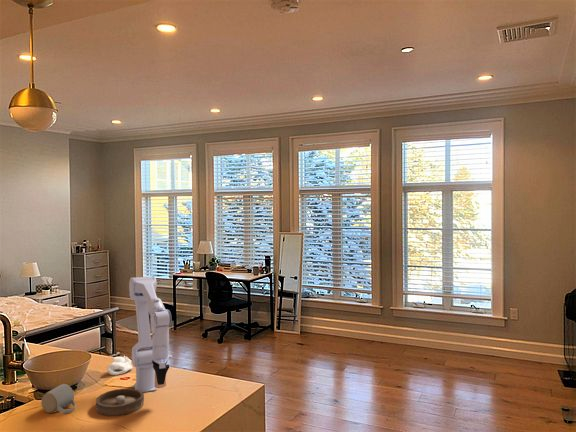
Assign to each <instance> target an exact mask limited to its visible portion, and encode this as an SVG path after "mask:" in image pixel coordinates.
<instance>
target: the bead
mask: <svg viewBox="0 0 576 432" xmlns="http://www.w3.org/2000/svg"><path fill="white" fill-rule="evenodd" d="M165 387H167V376H166V377H165V382H164V384H162V385H158V383H157V377H156V372H155V388H157V389H162V388H165Z"/></svg>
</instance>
